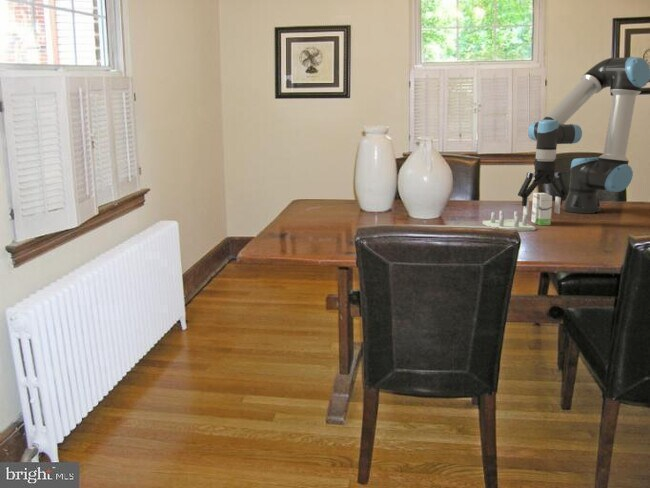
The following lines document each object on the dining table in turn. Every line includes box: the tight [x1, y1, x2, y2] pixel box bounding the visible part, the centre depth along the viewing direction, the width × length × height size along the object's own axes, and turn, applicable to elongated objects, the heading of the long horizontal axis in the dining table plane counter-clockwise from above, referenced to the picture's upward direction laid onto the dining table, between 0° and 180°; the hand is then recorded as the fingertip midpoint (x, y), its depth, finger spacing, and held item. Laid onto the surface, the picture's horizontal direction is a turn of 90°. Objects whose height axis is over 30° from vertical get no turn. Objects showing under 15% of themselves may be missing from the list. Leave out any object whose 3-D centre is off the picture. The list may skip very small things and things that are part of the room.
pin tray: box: [482, 210, 536, 232], centre depth 271 cm, size 14×16×5 cm
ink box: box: [530, 192, 553, 226], centre depth 277 cm, size 9×5×12 cm, turn 6°
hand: (541, 213), depth 278 cm, fingers open, 13 cm apart
